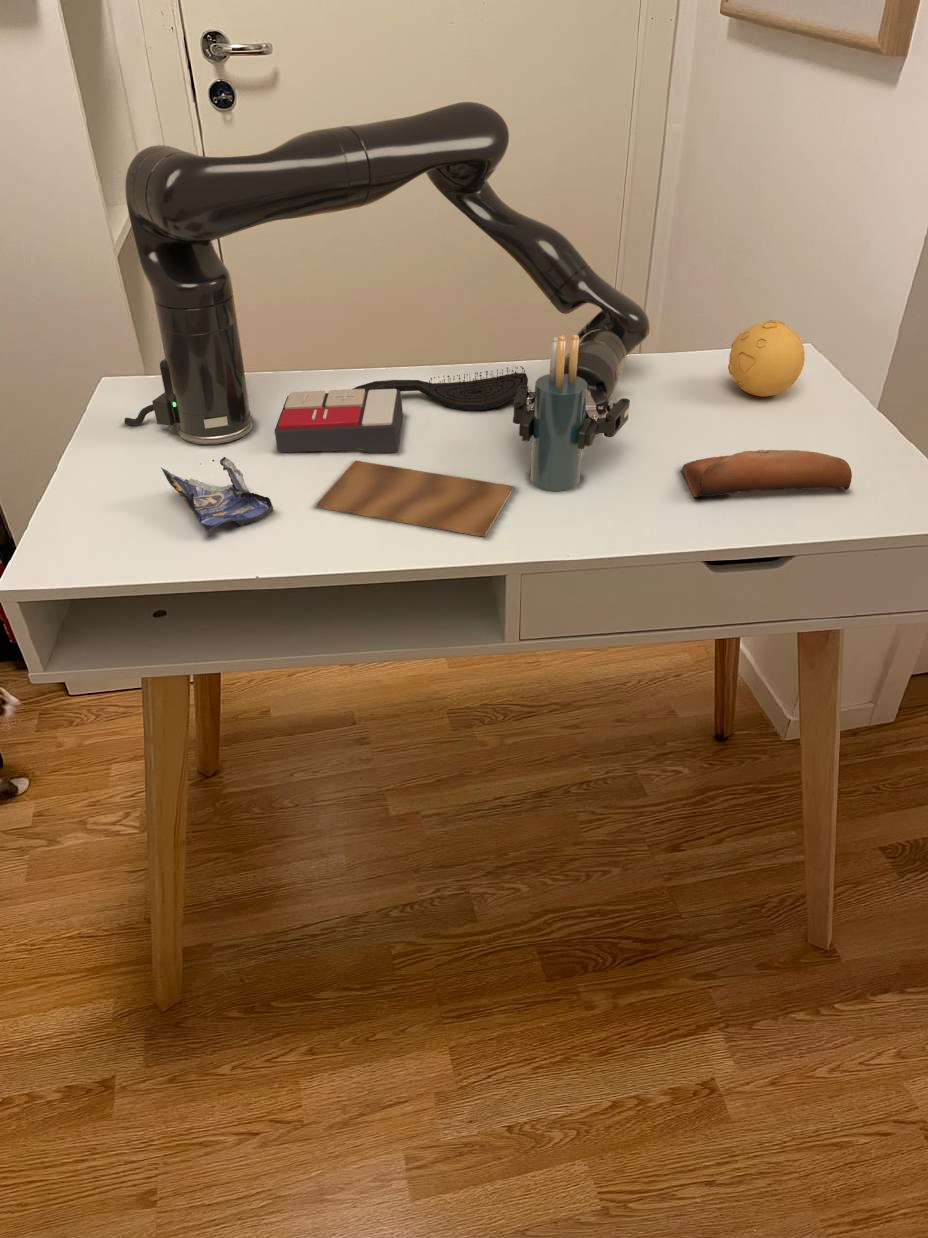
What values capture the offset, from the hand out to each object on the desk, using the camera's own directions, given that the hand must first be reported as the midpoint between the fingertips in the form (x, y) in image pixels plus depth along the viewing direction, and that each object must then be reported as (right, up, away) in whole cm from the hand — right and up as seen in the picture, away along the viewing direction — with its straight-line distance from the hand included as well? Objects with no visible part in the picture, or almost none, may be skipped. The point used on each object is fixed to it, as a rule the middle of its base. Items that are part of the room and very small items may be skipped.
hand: (552, 437), depth 109 cm
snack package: (-37, -8, 0) cm, 38 cm away
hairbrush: (-14, +10, +24) cm, 29 cm away
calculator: (-26, +3, +16) cm, 30 cm away
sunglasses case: (+25, -5, +5) cm, 26 cm away
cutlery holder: (+1, -4, +6) cm, 7 cm away
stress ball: (+31, +11, +26) cm, 42 cm away
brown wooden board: (-16, -7, +2) cm, 17 cm away
